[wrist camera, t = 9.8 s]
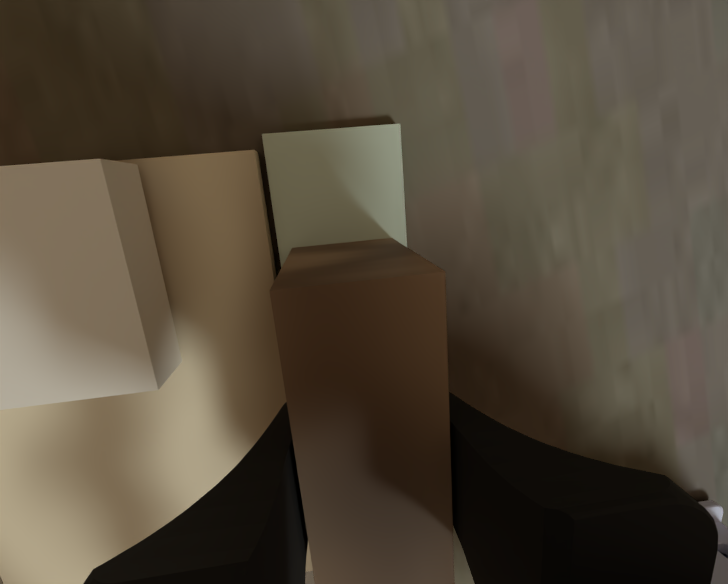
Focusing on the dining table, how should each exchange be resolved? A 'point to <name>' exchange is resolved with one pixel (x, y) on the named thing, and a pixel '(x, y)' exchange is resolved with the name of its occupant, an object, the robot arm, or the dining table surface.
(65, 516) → the board
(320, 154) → the pad
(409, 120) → the dining table surface
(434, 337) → the bar
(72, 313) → the tile
